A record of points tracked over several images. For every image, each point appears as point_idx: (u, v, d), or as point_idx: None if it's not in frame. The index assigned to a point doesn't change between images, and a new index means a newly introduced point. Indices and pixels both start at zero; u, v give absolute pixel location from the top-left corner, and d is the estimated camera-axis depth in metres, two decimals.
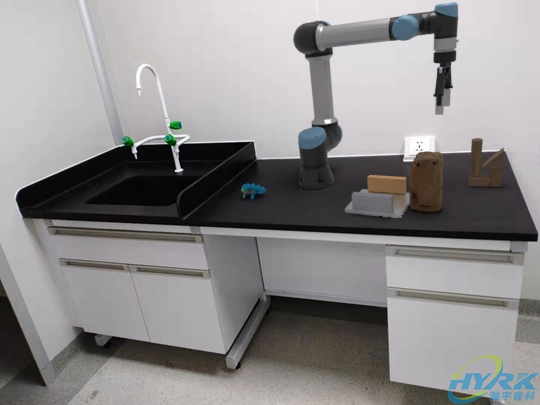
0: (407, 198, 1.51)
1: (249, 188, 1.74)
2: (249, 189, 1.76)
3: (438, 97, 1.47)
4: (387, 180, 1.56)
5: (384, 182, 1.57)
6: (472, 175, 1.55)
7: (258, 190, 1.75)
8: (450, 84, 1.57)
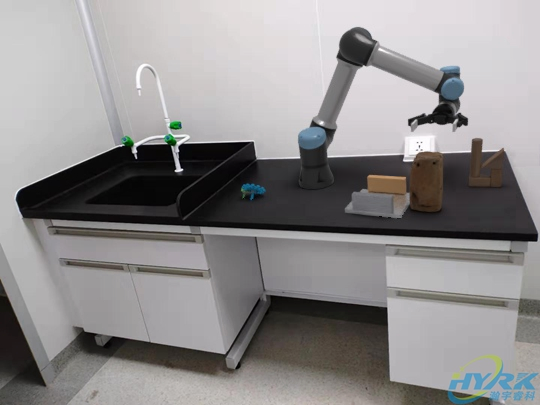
0: (407, 198, 1.51)
1: (249, 188, 1.74)
2: (249, 189, 1.75)
3: (462, 122, 1.43)
4: (387, 180, 1.56)
5: (384, 182, 1.57)
6: (472, 175, 1.55)
7: (258, 190, 1.75)
8: None
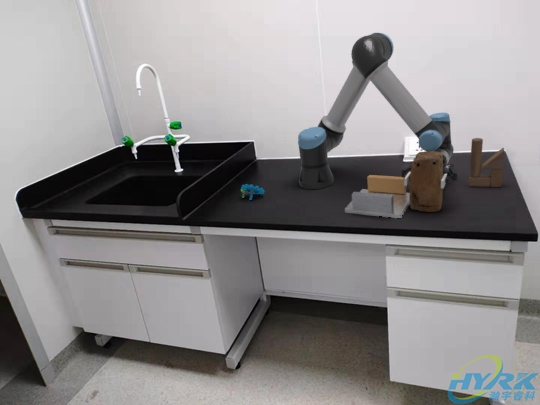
0: (407, 198, 1.51)
1: (248, 188, 1.74)
2: (248, 189, 1.75)
3: (450, 177, 1.39)
4: (387, 180, 1.56)
5: (384, 182, 1.57)
6: (472, 175, 1.55)
7: (257, 191, 1.74)
8: None
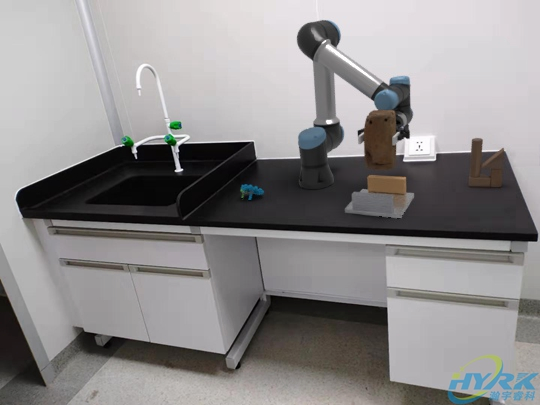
0: (407, 198, 1.51)
1: (247, 189, 1.74)
2: (248, 190, 1.75)
3: (403, 135, 1.40)
4: (387, 180, 1.56)
5: (384, 182, 1.57)
6: (472, 175, 1.55)
7: (256, 191, 1.74)
8: None
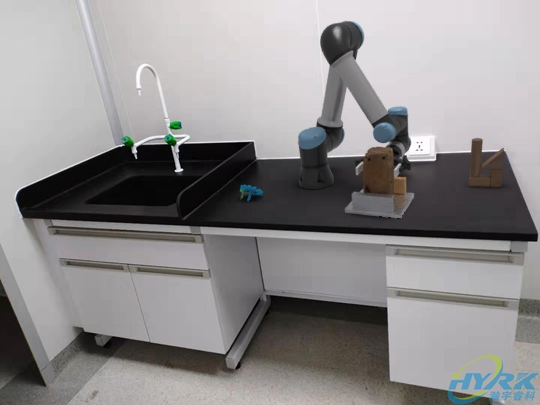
0: (407, 198, 1.51)
1: (246, 189, 1.74)
2: (247, 190, 1.75)
3: (404, 167, 1.45)
4: None
5: None
6: (472, 175, 1.55)
7: (255, 192, 1.74)
8: None
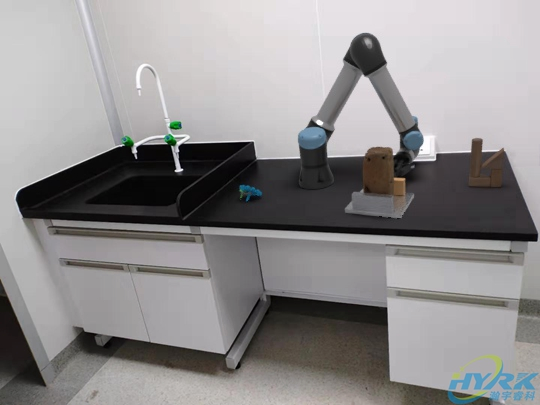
0: (407, 198, 1.51)
1: (245, 189, 1.74)
2: (246, 190, 1.75)
3: (397, 173, 1.61)
4: None
5: None
6: (472, 175, 1.55)
7: (254, 192, 1.73)
8: None
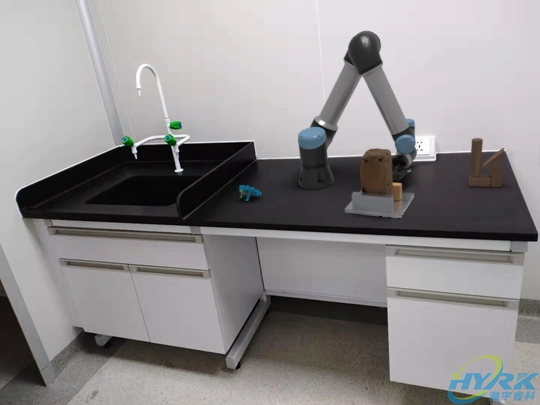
0: (407, 198, 1.51)
1: (245, 189, 1.74)
2: (246, 190, 1.75)
3: (393, 178, 1.57)
4: None
5: None
6: (472, 175, 1.55)
7: (254, 192, 1.73)
8: None
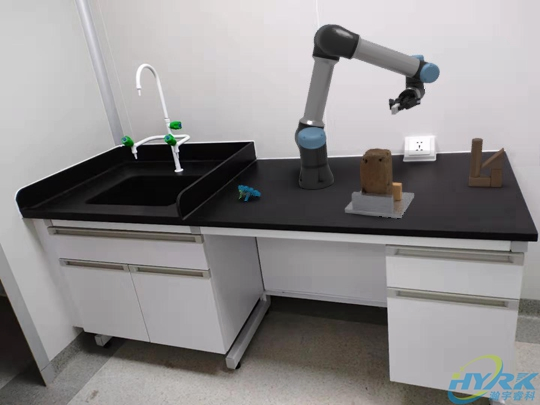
0: (407, 198, 1.51)
1: (244, 190, 1.73)
2: (245, 191, 1.75)
3: (403, 106, 1.60)
4: None
5: None
6: (472, 175, 1.55)
7: (253, 193, 1.73)
8: None
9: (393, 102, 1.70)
